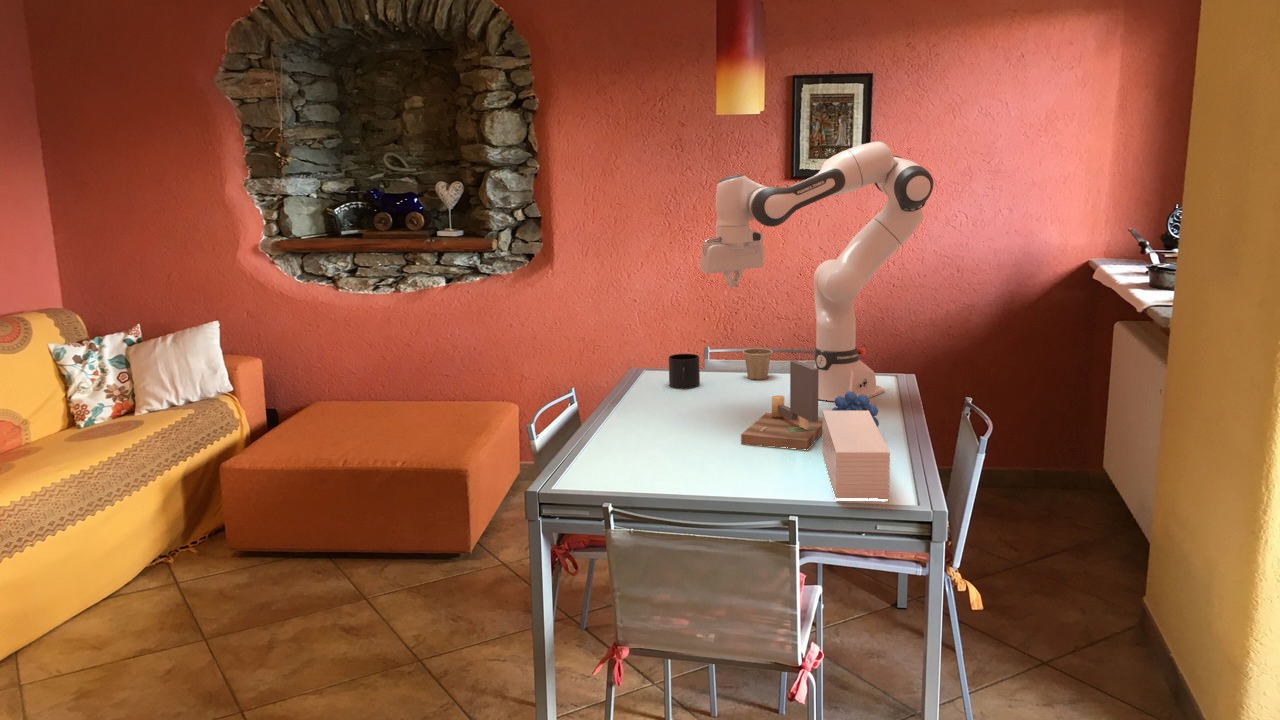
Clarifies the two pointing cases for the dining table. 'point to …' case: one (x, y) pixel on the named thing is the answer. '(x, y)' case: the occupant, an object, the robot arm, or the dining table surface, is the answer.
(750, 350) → the flower pot
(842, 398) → the grapes
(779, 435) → the wooden cutting board
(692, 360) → the mug
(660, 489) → the dining table surface
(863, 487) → the stack of papers
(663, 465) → the dining table surface
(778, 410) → the paddle
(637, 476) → the dining table surface
